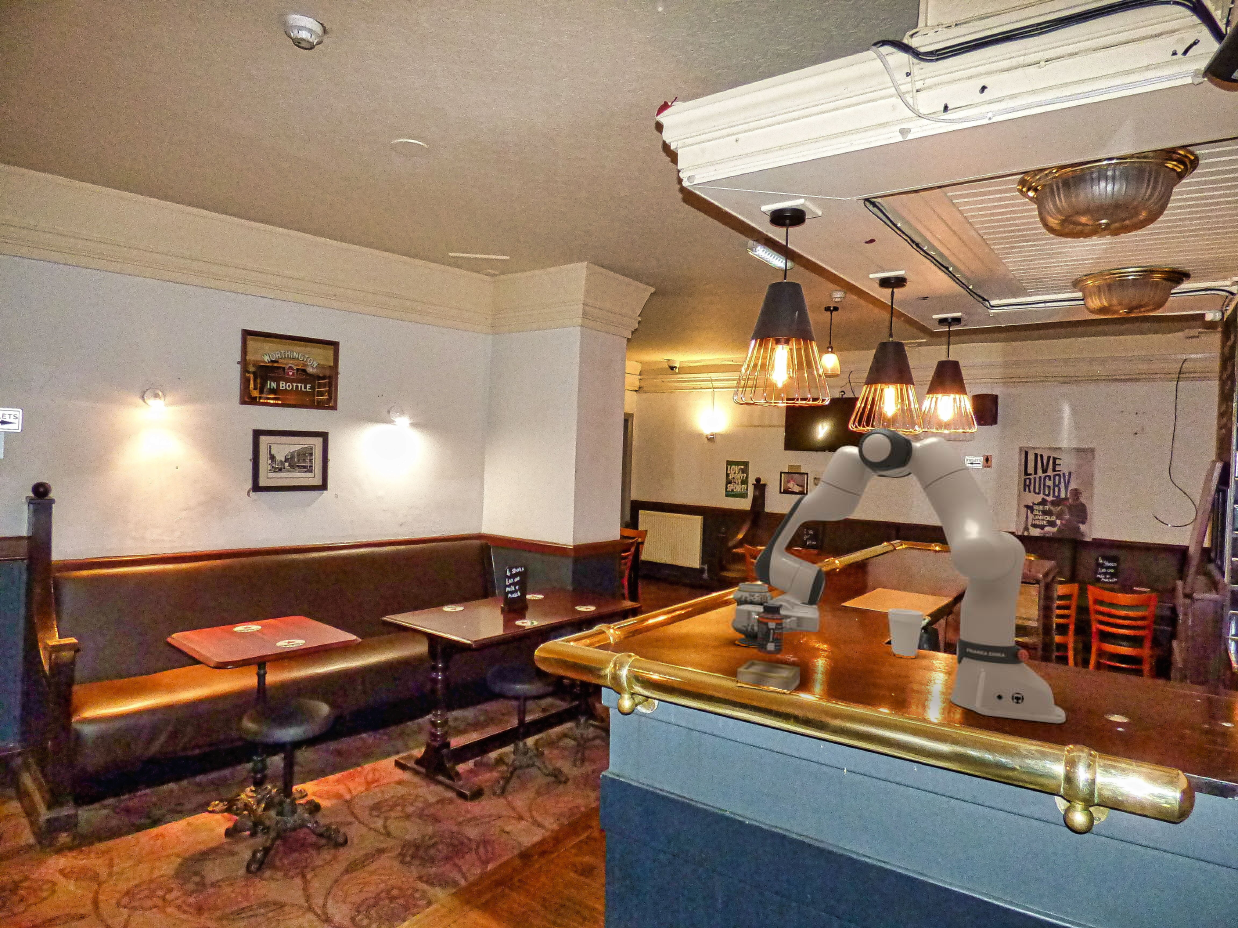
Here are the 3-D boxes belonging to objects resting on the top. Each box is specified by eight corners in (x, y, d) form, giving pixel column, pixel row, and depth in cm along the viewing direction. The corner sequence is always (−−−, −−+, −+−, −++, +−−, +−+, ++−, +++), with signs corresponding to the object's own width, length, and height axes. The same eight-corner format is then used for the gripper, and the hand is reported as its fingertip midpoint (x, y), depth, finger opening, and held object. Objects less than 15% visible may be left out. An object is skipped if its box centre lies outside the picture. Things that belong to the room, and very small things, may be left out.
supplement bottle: (777, 656, 169) (779, 607, 169) (752, 652, 172) (754, 604, 172) (785, 651, 174) (787, 604, 174) (762, 647, 177) (764, 601, 177)
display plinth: (799, 682, 175) (800, 666, 175) (788, 694, 164) (789, 677, 165) (750, 675, 180) (751, 659, 181) (736, 685, 170) (737, 669, 170)
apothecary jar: (758, 639, 227) (761, 581, 227) (779, 648, 215) (781, 587, 216) (723, 640, 223) (726, 581, 224) (742, 649, 211) (745, 586, 212)
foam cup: (924, 661, 207) (925, 615, 208) (890, 658, 209) (891, 612, 210) (917, 654, 217) (919, 610, 217) (884, 651, 218) (886, 607, 219)
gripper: (743, 597, 189) (727, 603, 177) (824, 606, 181) (813, 613, 168) (742, 621, 189) (726, 629, 177) (823, 631, 180) (812, 641, 168)
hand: (769, 622), depth 172 cm, fingers closed on supplement bottle, 6 cm apart
